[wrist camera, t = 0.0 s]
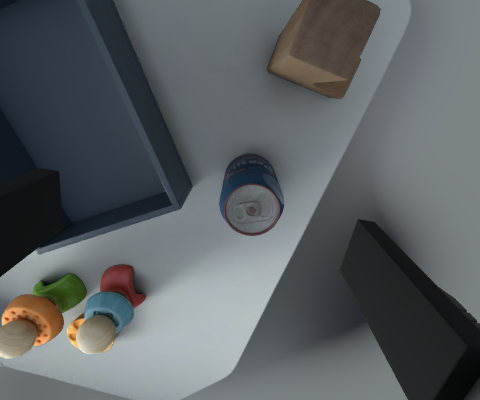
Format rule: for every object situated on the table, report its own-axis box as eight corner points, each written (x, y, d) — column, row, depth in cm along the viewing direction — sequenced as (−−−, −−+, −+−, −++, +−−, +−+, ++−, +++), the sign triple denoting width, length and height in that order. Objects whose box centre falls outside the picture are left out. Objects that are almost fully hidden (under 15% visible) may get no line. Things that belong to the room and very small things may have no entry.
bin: (-50, 28, 33) (-134, 11, 26) (95, -40, 31) (48, -81, 23) (74, 225, 43) (38, 254, 35) (192, 186, 40) (181, 208, 33)
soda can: (269, 147, 38) (279, 171, 27) (278, 193, 40) (291, 233, 29) (219, 158, 39) (209, 186, 27) (231, 203, 41) (227, 246, 30)
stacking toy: (83, 348, 52) (37, 423, 41) (27, 276, 46) (-45, 339, 35) (170, 324, 50) (148, 396, 38) (124, 245, 44) (81, 301, 32)
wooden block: (348, 61, 34) (450, 35, 17) (331, 98, 36) (409, 108, 19) (280, 32, 33) (317, -26, 16) (265, 71, 34) (286, 56, 18)
